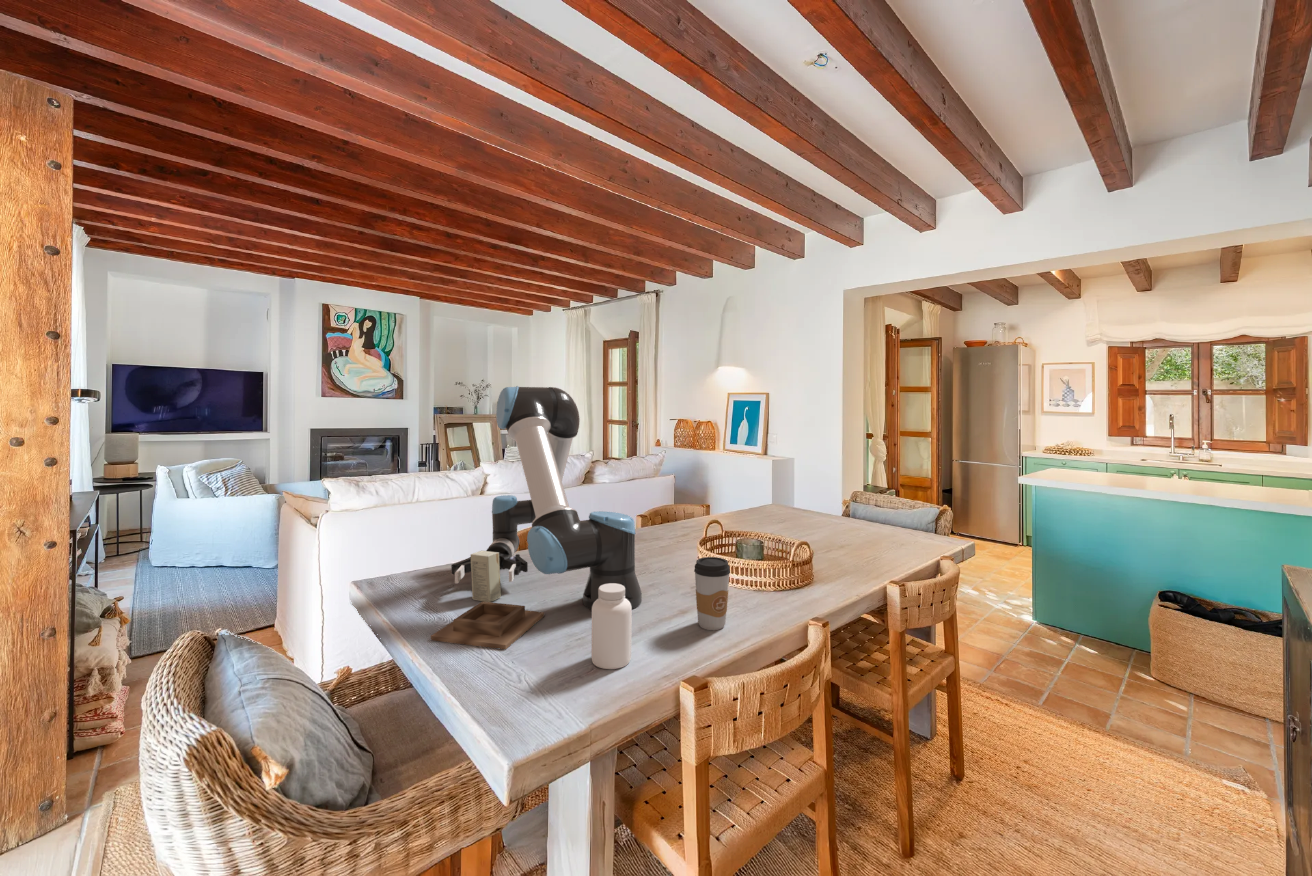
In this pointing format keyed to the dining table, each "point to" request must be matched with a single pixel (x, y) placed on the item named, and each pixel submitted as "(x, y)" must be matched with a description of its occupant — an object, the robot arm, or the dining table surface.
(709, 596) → the coffee cup
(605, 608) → the pill bottle
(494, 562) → the skincare box
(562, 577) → the dining table surface
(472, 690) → the dining table surface
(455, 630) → the socket holder
